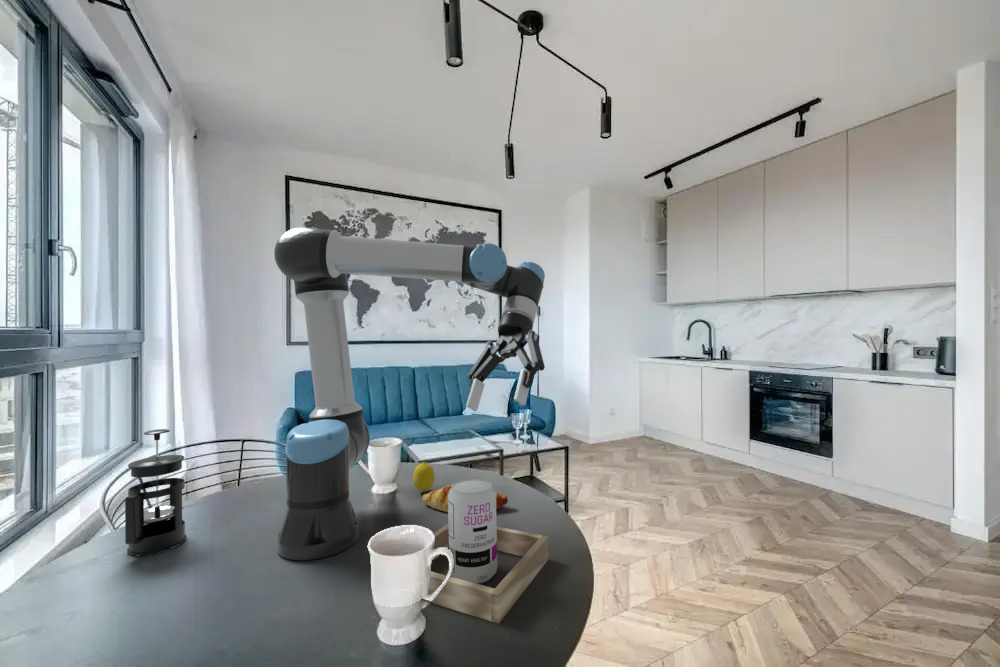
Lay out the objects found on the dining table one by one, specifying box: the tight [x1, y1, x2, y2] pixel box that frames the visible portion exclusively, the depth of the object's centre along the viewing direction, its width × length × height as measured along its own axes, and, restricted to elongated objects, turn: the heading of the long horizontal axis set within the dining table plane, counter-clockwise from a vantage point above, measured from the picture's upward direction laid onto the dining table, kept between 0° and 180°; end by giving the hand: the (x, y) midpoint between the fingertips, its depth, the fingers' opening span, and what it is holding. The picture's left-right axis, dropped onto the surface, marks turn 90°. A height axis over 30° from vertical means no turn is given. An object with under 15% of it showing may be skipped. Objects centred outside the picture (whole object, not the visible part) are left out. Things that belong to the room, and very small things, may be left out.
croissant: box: [421, 484, 509, 513], centre depth 104 cm, size 21×10×8 cm, turn 81°
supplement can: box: [447, 478, 498, 585], centre depth 75 cm, size 8×8×15 cm
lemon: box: [412, 461, 435, 493], centre depth 115 cm, size 6×6×8 cm
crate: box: [429, 522, 550, 625], centre depth 75 cm, size 20×20×4 cm
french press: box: [124, 428, 187, 556], centre depth 87 cm, size 12×9×23 cm
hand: (494, 405), depth 88 cm, fingers open, 13 cm apart
